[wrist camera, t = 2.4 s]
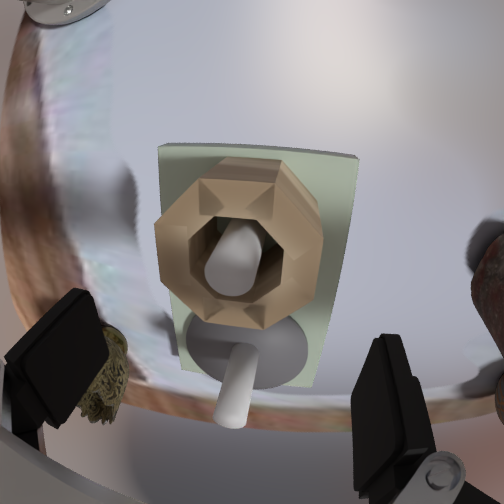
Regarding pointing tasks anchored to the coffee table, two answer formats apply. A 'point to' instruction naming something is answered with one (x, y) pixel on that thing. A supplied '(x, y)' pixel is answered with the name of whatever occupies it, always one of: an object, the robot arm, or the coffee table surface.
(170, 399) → the coffee table surface
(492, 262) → the brown log
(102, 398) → the fiber plant pot
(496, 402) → the vase
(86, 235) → the coffee table surface
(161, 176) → the hub board
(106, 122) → the coffee table surface
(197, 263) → the collar
